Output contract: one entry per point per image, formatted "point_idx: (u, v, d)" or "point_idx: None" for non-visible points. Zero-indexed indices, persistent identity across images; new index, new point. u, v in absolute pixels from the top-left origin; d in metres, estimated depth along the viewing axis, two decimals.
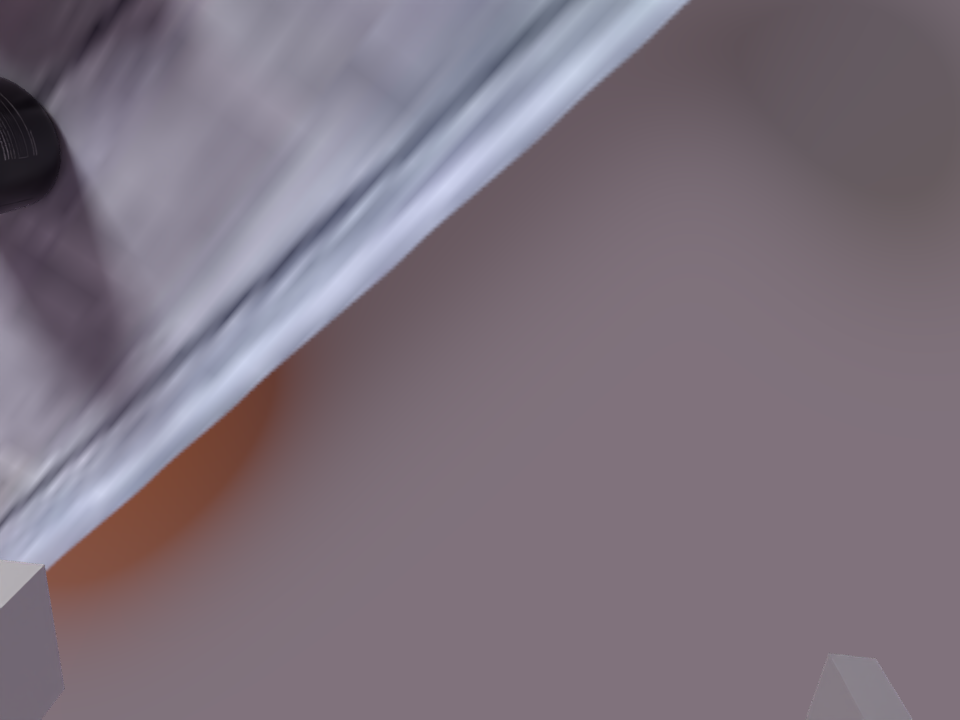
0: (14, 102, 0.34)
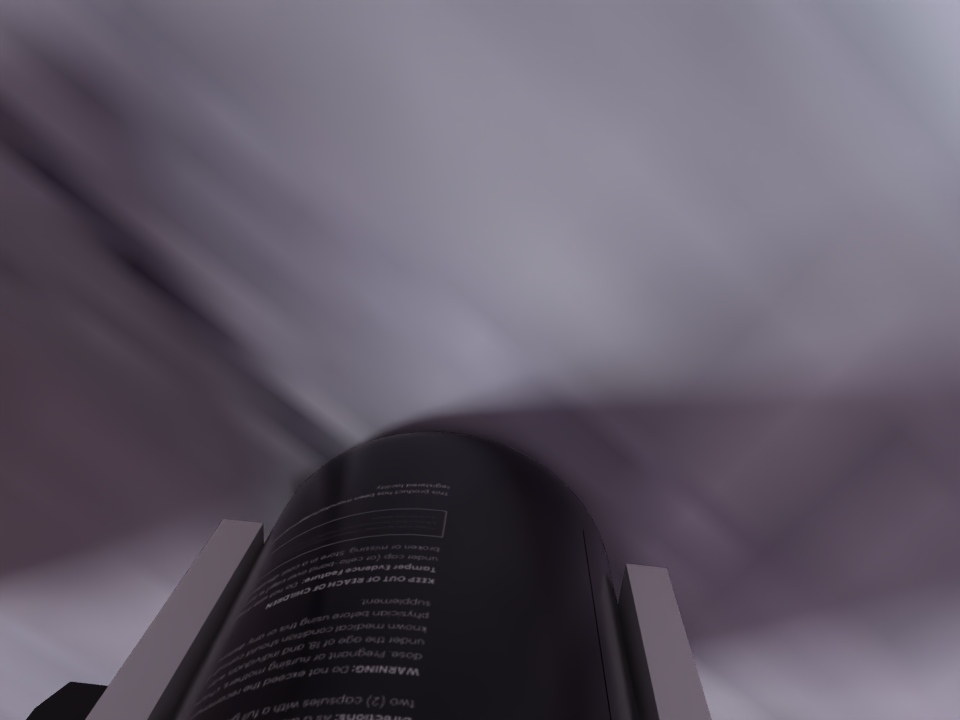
0: (302, 510, 0.12)
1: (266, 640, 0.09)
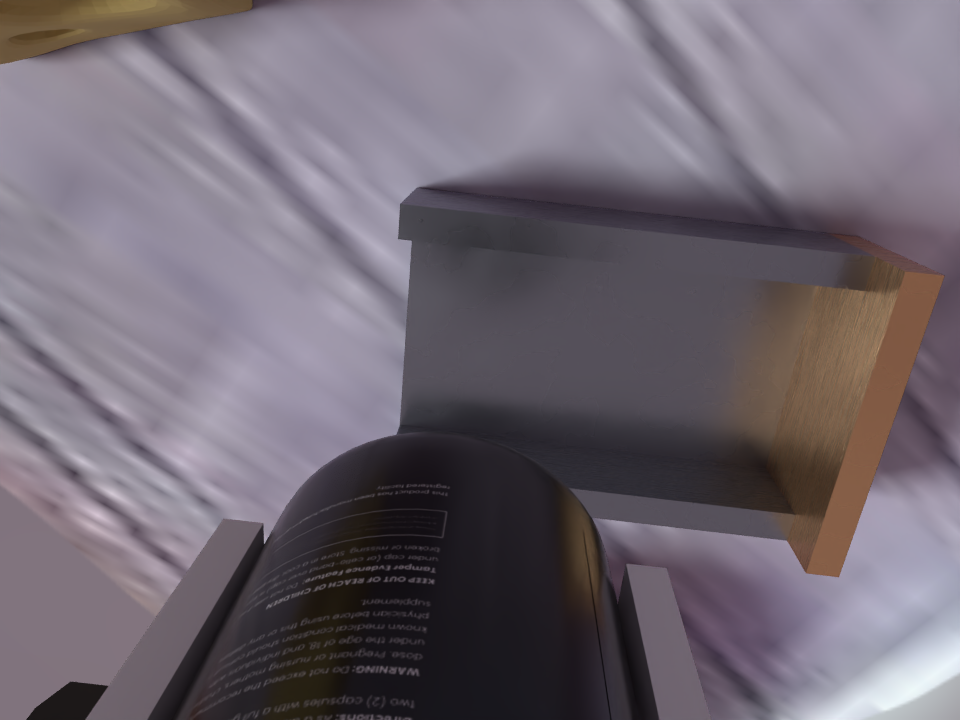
0: (303, 510, 0.12)
1: (266, 639, 0.09)
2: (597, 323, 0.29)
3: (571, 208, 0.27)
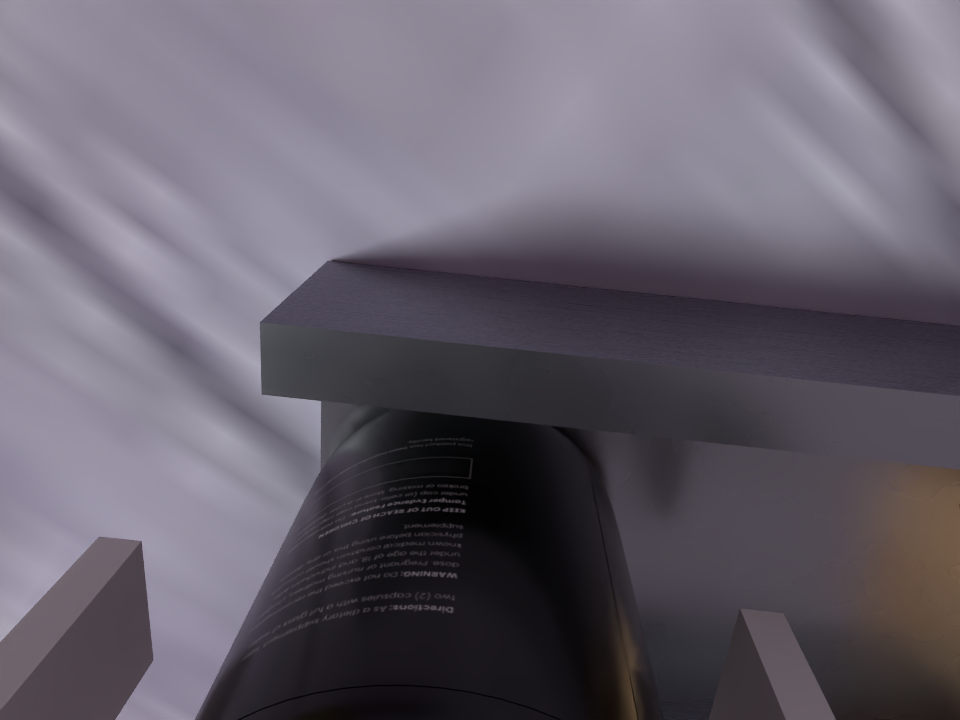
0: (342, 465, 0.13)
1: (322, 559, 0.10)
2: (671, 503, 0.16)
3: (628, 304, 0.13)
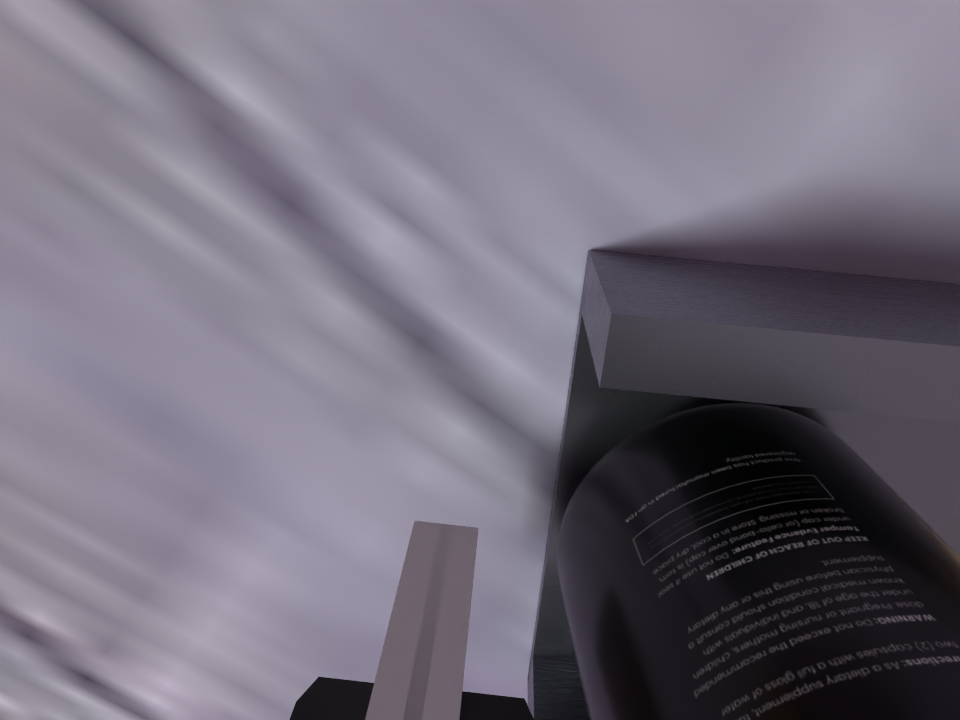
0: (646, 488, 0.12)
1: (746, 606, 0.09)
2: (919, 493, 0.15)
3: (915, 291, 0.13)
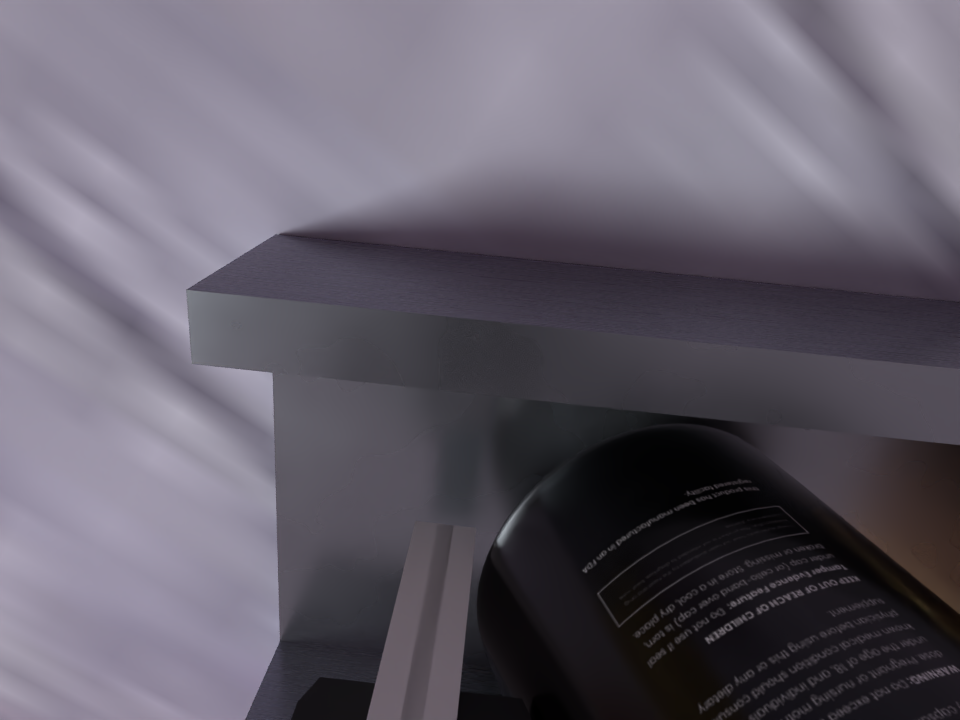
0: (601, 530, 0.11)
1: (763, 675, 0.08)
2: None
3: (576, 275, 0.13)
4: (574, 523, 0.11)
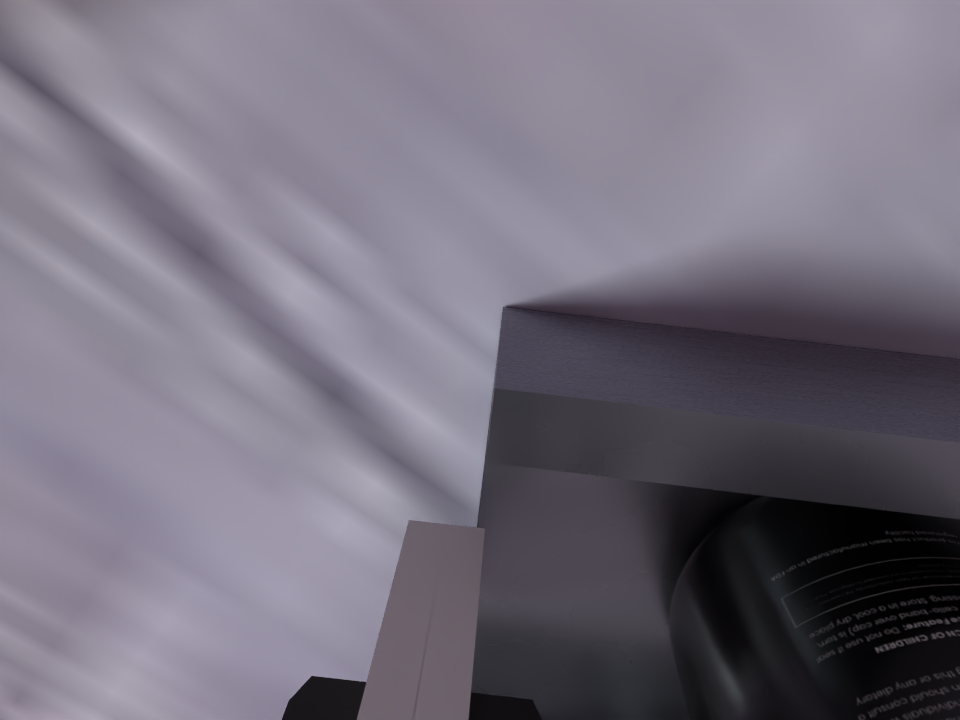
0: (795, 549, 0.12)
1: (925, 686, 0.09)
2: None
3: (832, 359, 0.13)
4: (770, 540, 0.13)
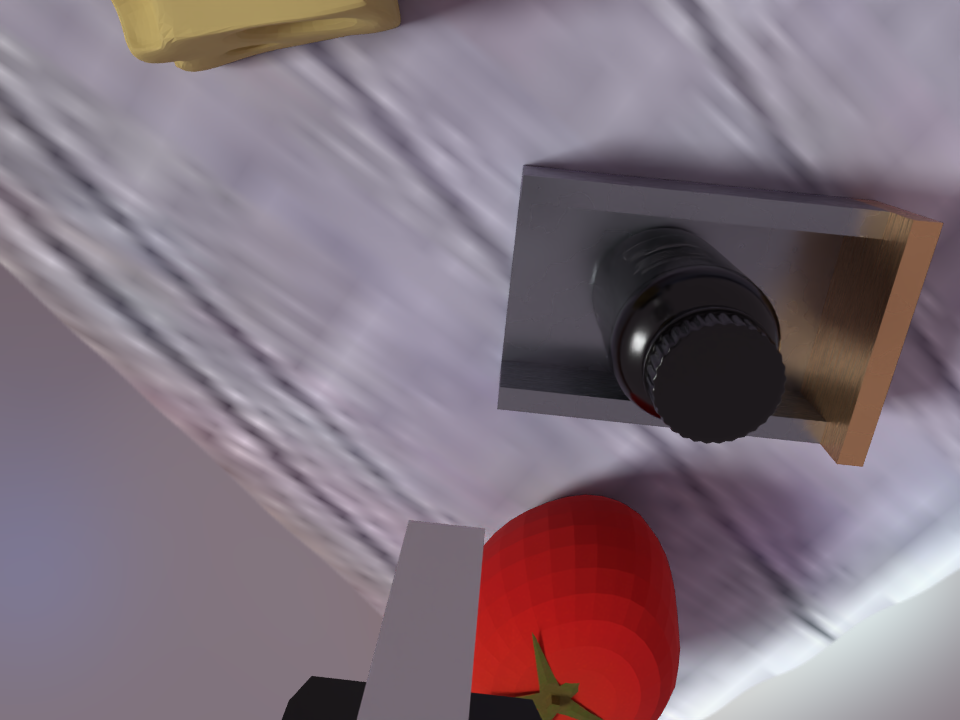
0: (632, 245, 0.33)
1: (654, 255, 0.30)
2: None
3: (648, 179, 0.34)
4: (625, 246, 0.34)
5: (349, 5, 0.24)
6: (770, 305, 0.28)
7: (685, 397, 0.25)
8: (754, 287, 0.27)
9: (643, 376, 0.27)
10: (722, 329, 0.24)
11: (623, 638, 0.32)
